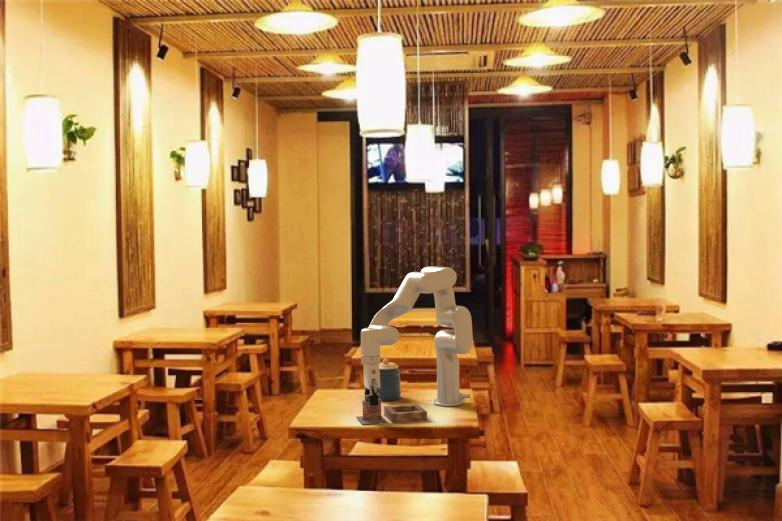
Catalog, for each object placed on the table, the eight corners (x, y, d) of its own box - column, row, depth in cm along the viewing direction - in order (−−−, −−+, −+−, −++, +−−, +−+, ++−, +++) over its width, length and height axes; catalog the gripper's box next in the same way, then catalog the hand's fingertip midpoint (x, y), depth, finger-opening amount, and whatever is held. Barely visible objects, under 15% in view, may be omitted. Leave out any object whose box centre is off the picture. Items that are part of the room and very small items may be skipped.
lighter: (364, 421, 325) (363, 396, 324) (360, 419, 328) (360, 394, 327) (383, 418, 328) (382, 393, 327) (379, 416, 331) (379, 392, 330)
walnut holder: (417, 412, 340) (417, 404, 340) (427, 420, 327) (427, 411, 327) (384, 414, 337) (384, 406, 337) (392, 423, 323) (392, 414, 323)
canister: (375, 402, 360) (374, 361, 359) (368, 396, 373) (368, 357, 372) (404, 400, 363) (403, 360, 362) (397, 394, 376) (396, 355, 375)
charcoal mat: (380, 416, 335) (380, 414, 335) (387, 423, 323) (387, 421, 323) (356, 418, 332) (356, 416, 332) (362, 425, 321) (362, 423, 321)
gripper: (385, 362, 319) (385, 406, 320) (375, 355, 336) (375, 397, 337) (365, 363, 317) (366, 408, 318) (357, 356, 334) (357, 398, 335)
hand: (371, 402), depth 327 cm, fingers open, 9 cm apart
